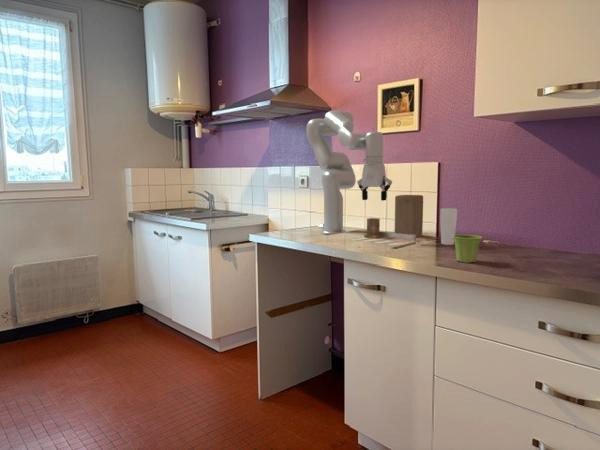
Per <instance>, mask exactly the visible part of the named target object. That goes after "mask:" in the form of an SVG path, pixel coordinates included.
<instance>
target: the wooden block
mask: <svg viewBox="0 0 600 450" xmlns="http://www.w3.org/2000/svg"><path fill="white" fill-rule="evenodd" d="M394 199H395V200H394V231H393V233H403V234H414V235H416V238H418V237H423V227H424V225H423V222H424V196H423V195H421V194H399V195H395V197H394Z"/></svg>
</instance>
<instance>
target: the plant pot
mask: <svg viewBox="0 0 600 450" xmlns="http://www.w3.org/2000/svg"><path fill="white" fill-rule="evenodd" d="M452 237H454V247H455V257H456V261H457V262H461V263H467V264H469V263H476V262H477V257H478V251H479V246H480V243H481V239H483V237H482V236H480V235H475V234H474V235H473V234H455V235H453V236H452Z"/></svg>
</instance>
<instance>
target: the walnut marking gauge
mask: <svg viewBox="0 0 600 450" xmlns="http://www.w3.org/2000/svg"><path fill="white" fill-rule="evenodd" d="M380 221H381V219H380V218H378V217H377V218H376V217H370V218H367V219H366V233H365V234H363V237H364V238H372V239H378V238H382V234H379V231H380V229H381V228H380V226H381V225H380Z"/></svg>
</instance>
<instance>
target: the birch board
mask: <svg viewBox="0 0 600 450" xmlns="http://www.w3.org/2000/svg"><path fill="white" fill-rule="evenodd" d="M379 234H382V238H378V239H372V238H364V236H361V237H357V238H351V239H349V240H350V241H356V242H357V241H358V242H365V243H373V244H381V245H382V244H383V245H388V246H389V245H391V246H393V247H391V249H395V250H397V249H402V248H406V247H410V246H414V245H416V244H417V242H416V240H417V237H416V235H414V234H403V233H394V231H393V232H391V231H380V230H379Z"/></svg>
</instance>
